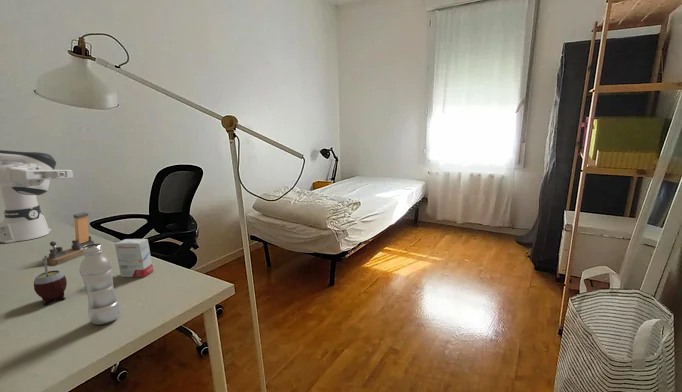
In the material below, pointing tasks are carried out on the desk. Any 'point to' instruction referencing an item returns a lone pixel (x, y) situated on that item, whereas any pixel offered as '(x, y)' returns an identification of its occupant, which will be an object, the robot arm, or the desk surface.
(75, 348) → the desk surface
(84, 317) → the desk surface
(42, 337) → the desk surface
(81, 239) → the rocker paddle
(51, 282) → the mate gourd
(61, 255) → the switch panel
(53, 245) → the toggle lever
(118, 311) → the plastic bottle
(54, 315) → the desk surface
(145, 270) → the ink box
